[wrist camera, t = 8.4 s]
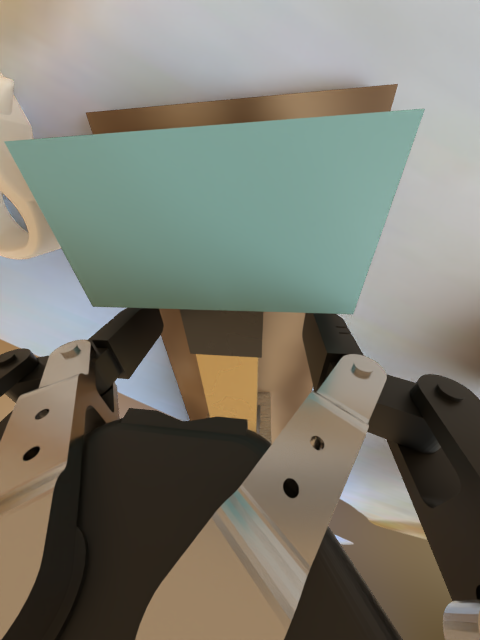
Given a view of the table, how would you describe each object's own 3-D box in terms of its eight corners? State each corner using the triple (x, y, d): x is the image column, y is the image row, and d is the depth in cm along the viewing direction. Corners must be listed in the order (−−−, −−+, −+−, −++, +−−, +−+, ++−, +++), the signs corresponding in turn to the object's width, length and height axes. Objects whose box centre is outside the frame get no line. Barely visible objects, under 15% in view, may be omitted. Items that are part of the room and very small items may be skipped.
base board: (380, 97, 9) (397, 84, 8) (291, 446, 30) (292, 457, 28) (106, 120, 11) (85, 113, 9) (201, 437, 31) (199, 447, 30)
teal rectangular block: (334, 151, 9) (424, 108, 4) (315, 257, 12) (352, 313, 7) (137, 163, 10) (3, 141, 5) (162, 257, 13) (92, 306, 8)
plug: (267, 193, 9) (267, 197, 6) (258, 429, 22) (257, 470, 19) (189, 195, 10) (152, 201, 6) (224, 425, 22) (217, 465, 19)
